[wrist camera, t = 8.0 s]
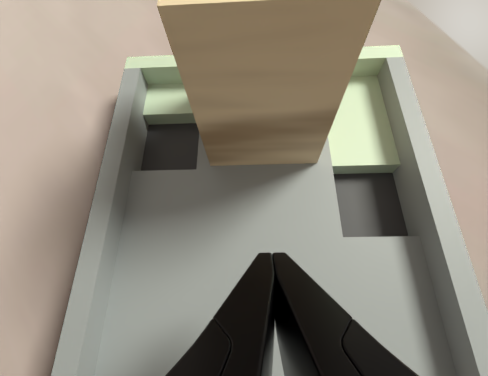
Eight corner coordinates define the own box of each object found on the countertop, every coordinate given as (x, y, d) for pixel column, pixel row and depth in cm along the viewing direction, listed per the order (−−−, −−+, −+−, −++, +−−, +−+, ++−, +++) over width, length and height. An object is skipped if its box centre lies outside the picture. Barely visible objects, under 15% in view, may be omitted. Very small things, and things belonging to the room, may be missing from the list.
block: (317, 163, 15) (383, -7, 7) (210, 165, 16) (156, 5, 7) (306, 81, 18) (347, -114, 10) (214, 85, 18) (178, -102, 10)
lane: (468, 391, 12) (520, 411, 9) (84, 386, 13) (44, 404, 10) (382, 77, 19) (399, 45, 17) (142, 87, 20) (127, 57, 18)
